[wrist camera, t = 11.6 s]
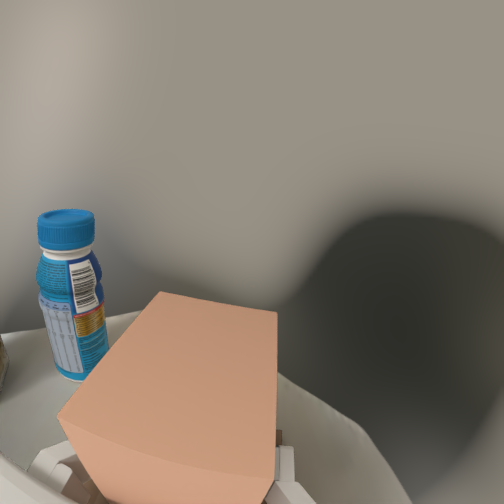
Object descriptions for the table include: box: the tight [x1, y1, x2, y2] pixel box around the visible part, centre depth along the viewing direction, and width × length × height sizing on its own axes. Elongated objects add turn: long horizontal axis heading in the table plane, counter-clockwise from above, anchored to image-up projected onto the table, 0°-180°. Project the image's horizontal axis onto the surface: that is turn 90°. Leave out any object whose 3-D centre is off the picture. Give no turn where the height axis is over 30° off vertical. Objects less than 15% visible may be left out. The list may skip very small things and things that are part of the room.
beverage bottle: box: [36, 209, 109, 383], centre depth 28 cm, size 8×8×20 cm
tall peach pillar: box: [57, 291, 277, 504], centre depth 8 cm, size 4×6×12 cm, turn 175°
